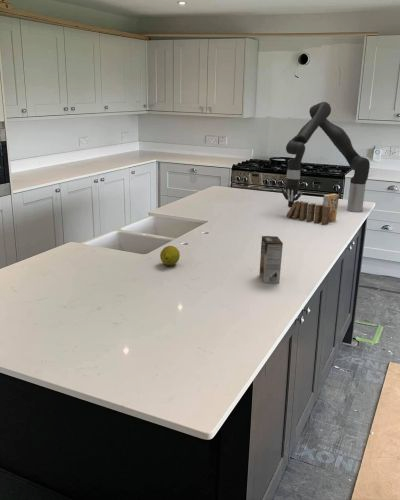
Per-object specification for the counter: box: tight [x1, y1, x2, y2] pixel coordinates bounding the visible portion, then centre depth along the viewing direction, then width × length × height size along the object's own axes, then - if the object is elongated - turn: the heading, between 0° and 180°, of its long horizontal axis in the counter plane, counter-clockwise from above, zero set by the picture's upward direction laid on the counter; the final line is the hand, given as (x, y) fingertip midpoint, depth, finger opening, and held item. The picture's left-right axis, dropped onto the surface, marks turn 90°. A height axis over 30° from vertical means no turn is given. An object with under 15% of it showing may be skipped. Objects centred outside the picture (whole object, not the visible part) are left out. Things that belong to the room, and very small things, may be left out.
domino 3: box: [299, 201, 309, 222], centre depth 291 cm, size 5×2×10 cm, turn 142°
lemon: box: [159, 245, 181, 266], centre depth 209 cm, size 11×8×8 cm
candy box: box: [321, 193, 340, 223], centre depth 289 cm, size 9×4×15 cm, turn 129°
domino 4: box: [306, 202, 317, 223], centre depth 288 cm, size 5×2×10 cm, turn 142°
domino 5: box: [313, 203, 323, 225], centre depth 286 cm, size 5×2×10 cm, turn 142°
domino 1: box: [285, 200, 300, 219], centre depth 295 cm, size 5×2×10 cm, turn 142°
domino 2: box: [292, 200, 304, 220], centre depth 293 cm, size 5×2×10 cm, turn 142°
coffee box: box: [258, 235, 284, 284], centre depth 196 cm, size 9×6×16 cm
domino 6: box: [320, 206, 331, 226], centre depth 283 cm, size 5×2×10 cm, turn 142°
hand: (290, 207), depth 296 cm, fingers closed
